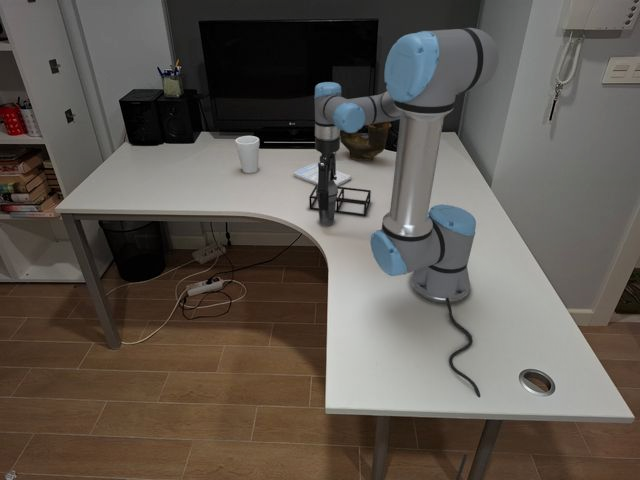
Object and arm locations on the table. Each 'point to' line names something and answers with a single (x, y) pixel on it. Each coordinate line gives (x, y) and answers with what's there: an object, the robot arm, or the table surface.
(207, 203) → the table surface
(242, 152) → the foam cup
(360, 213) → the rack
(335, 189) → the beverage cup
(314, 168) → the calculator
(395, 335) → the table surface
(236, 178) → the table surface
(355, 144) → the pottery vessel
